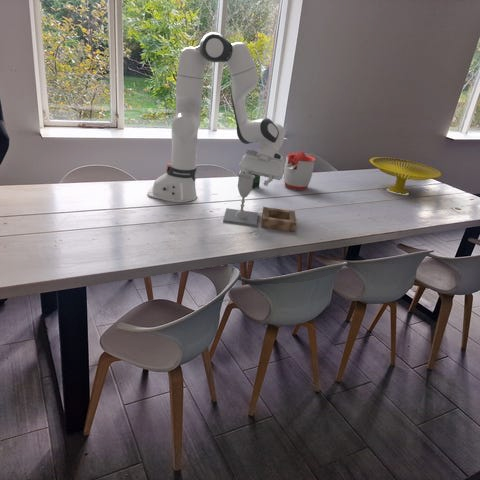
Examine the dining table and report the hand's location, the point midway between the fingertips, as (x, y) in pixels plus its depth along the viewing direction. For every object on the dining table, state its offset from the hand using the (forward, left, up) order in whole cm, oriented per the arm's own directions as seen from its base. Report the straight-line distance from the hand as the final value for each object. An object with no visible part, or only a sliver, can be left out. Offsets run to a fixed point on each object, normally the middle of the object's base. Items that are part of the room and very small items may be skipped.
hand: (255, 182), depth 189 cm
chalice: (-4, -12, -12) cm, 17 cm away
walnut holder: (+12, -12, -13) cm, 21 cm away
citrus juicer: (+22, +43, -13) cm, 50 cm away
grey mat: (-4, -12, -13) cm, 18 cm away
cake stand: (+84, +63, -13) cm, 106 cm away
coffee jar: (-2, +35, -13) cm, 38 cm away
